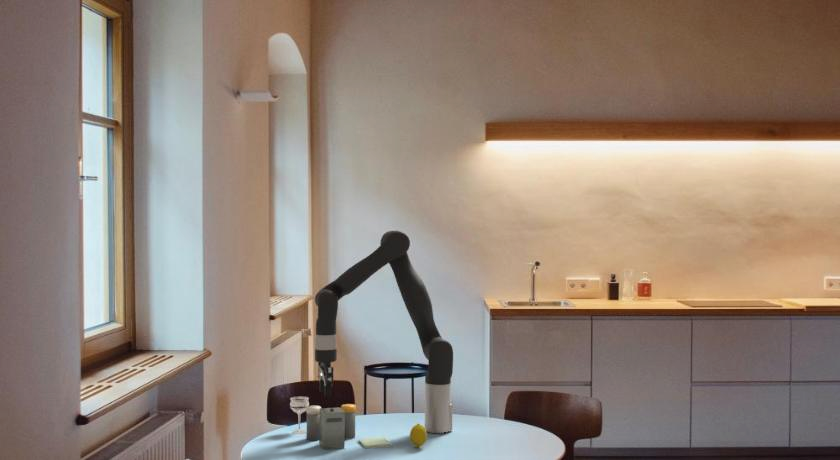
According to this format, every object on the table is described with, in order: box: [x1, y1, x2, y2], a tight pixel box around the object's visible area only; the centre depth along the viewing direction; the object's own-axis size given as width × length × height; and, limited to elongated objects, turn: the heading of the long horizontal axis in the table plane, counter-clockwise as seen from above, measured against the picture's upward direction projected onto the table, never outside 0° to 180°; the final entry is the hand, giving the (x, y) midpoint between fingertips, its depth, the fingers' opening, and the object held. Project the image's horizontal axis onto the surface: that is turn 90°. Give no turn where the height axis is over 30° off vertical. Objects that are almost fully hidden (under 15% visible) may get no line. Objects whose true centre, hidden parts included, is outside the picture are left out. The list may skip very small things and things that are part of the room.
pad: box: [358, 436, 392, 449], centre depth 263 cm, size 9×9×1 cm
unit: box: [318, 407, 346, 451], centre depth 260 cm, size 7×8×13 cm
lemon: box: [409, 423, 428, 449], centre depth 259 cm, size 6×6×8 cm
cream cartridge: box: [305, 405, 322, 442], centre depth 269 cm, size 5×5×11 cm
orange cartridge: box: [340, 403, 357, 440], centre depth 272 cm, size 5×5×11 cm
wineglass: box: [289, 396, 310, 435], centre depth 278 cm, size 7×7×12 cm
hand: (325, 394), depth 270 cm, fingers open, 8 cm apart
